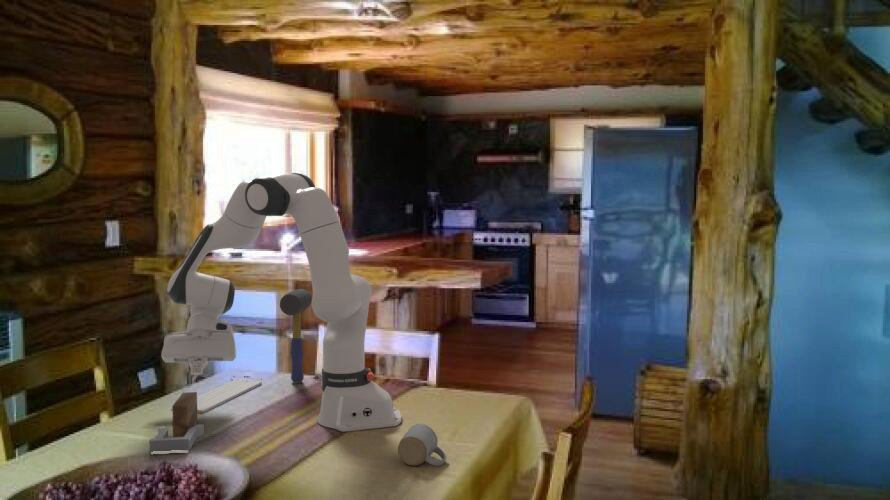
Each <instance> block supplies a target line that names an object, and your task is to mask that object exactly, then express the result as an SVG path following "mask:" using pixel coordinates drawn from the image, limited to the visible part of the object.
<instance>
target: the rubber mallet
mask: <svg viewBox="0 0 890 500" xmlns="http://www.w3.org/2000/svg"><path fill="white" fill-rule="evenodd" d="M311 302H312V295H311V293H310V292H309V291H308V290H306V289H304V288H299V289H294V290H291V291H289V292H287V293H286V294H284V295H283V296H282V297H281V298H280V301H279V307H280V308H279V309H280V311H281V312H282V313H283V314H286V315H287V316H292V338H291V342H290V345H291V346H290V357H291V374H290V375H291V376H290V380H291V381H292V382H293V383H294V384H301V383H302V382H303V380H304V379H305V376H304V373H303V357H304V350H303V349H304V348H303V346H304V345H303V340H302V332H301V331H302V328H301V326H302V325H301V313H302V312H305V311H306V310H308V308H309V307H310V306H311V305H312V304H311Z"/></svg>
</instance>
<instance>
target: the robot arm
mask: <svg viewBox="0 0 890 500" xmlns="http://www.w3.org/2000/svg"><path fill="white" fill-rule="evenodd" d="M284 215H289V216H290V217H292V218H293V220H294V222H295V224H296V227H297V229H298V234H299V236H300V240H301V243H302V245H303V248H304V253H305V255H306V258H307V262H308V264H309V265H308V266H309V273H310V280H311V286H312V287H311V288H312V295H311V298H312V301H311V304H310V305H311V309H312V311H313V313H314V315H315V316H316V317H317V318H318V319H320V320H321V321H323V322H326V323H327V324H326V325H327V326H326V329H325V333H324V336H323V338H322V339H323V340H322V363H323V364H322V369H321V374H320V386H321V391H322V395H321V402H320V403H321V404H320V410H319V413H318V414H319V415H318V418H317V424H319V425H321V426H323V427H326V428H330V429H335V430H337V431H339V432H343V433H344V432H353V431H354V432H355V431H361V430H363V431H364V430H372V429H380V428H389V427H390V428H391V427H397V426H399V425H400V424H401V423H402V413H401V412H400V410H399V409H397V408H395V407H394V403H393V400H392V397H391V395H390V394H389V392H388V391H386V390H385V389H384V388H382V387H381V386H379V385H378V384H376V382H374V380H375V374H374V373H373V370H371V368H370V367H369V368H368V367H366V366H365V365H366V364H365V340H366V339H365V337H366V329H367V324H368V319H369V318H368V317H369V309H370V307H369V306H370V302H371V299H372V296H373V295H372V294H373V291H372V285H371V284H370V283H369V281H368V280H367V279H366V278H365V277H363V276H361V275H357V274H353V273H352V274H351V270H350V262H349V261H350V258H349V257H350V256H349V254H350V250H349V249H350V248H349V246H348V242H347V239H346V237H345V233H344V231H343V228H342V225H341V221H340V219H339V217H338V214H337V211H336V209H335V206H334V205H333V202H332V200H331V198H330V197H329V195H328V194H327V192H326V191H325V190H323V189H322V188H320V187H316V186H315V183H314V182H313V179H311V178H310V177H309V176H307V175H306V174H303V173H299V172H291V173H282V172H280V173H278V172H277V173H270V174H268V175H260V176H257V177H256V178H253V179H246V180H243V181H241V182H240V183H239V184H238V185H237V187H236V188H235V189H234V191H233V193H232V195H230V199H229V200H228V203H227V204H226V207H225V209H224V212H223V213H222V216H220V218H218V219H217V220H216V221H215V222H213V223H209V224H206V226H205V227H204V228H203V229H202V230H201V231H200V233H199V234H198V236H197V237H196V239H195V240H194V242H193V244H192V245H191V247H190V249H188V251H187V254H186V255H185V256H184V258H183V260H182V261H181V263H180V265H179V266H178V267H177V268H176V270H175V271H174V273H173V274H172V275H171V276H170V279H169V280H168V283H167V286H166V287H167V291H166V294H167V295H168V297H169V298H170V300H172V302H173V303H174V304H178V305H189V306H190V307H189V308H190V309H189V310H190V311H189V313H190V316H189V318H188V321H187V327H186V331H179V332H175V331H173V332H170V333H168V334H166V335H165V336H164V339H163V347H162V350H161V358H162V360H163V362H164V363H166V364H167V363H169V364H171V363H173V364H174V363H188V365H189V367H190V374H191V375H192V376H193V375H194V376H195V375H203V374H204V373H203V371H204V370H205V369H206V367H207V366H208V364H209V363H210V362H233V361H235V359H236V358H237V347H236V340H235V335H234V334H235V333H234V330H233V327H232V325H231V324H228V323H224V322H220V320H219V319H220V316H221V315H225V314H226V313H228V312H229V311H230V310H231V309H232V307H233V305H234V299H235V292H236V288H235V286H234V284H233V282H232V281H231V280H229V279H226V278H224V277H219V276H214V275H209V274H206V273H202V272H198V271H197V269H198V268H199V267H200V265H201V263H202V262H203V260H204V258H205V257H206V255H208V254H209V253H211V252H213V251H216V250H217V251H218V250H224V249H240V248H244V247H247V246H250V245H251V244H252V243H254V242H255V241H256V240H257V238H258V236H259V235H260V233H261V231H262V228H263V227H264V224H265V221H266V219H267V217H283V216H284ZM195 363H201V364H200V365H198V366H194V365H195Z"/></svg>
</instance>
